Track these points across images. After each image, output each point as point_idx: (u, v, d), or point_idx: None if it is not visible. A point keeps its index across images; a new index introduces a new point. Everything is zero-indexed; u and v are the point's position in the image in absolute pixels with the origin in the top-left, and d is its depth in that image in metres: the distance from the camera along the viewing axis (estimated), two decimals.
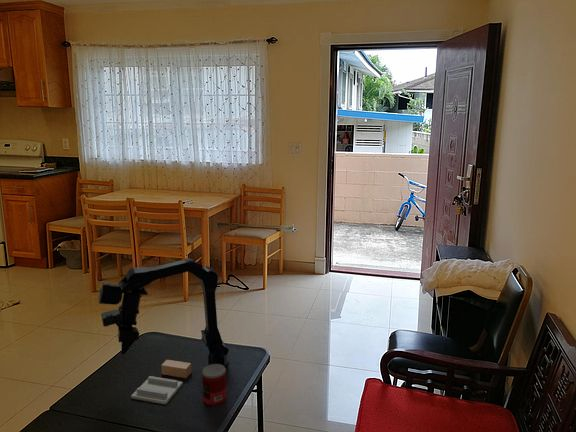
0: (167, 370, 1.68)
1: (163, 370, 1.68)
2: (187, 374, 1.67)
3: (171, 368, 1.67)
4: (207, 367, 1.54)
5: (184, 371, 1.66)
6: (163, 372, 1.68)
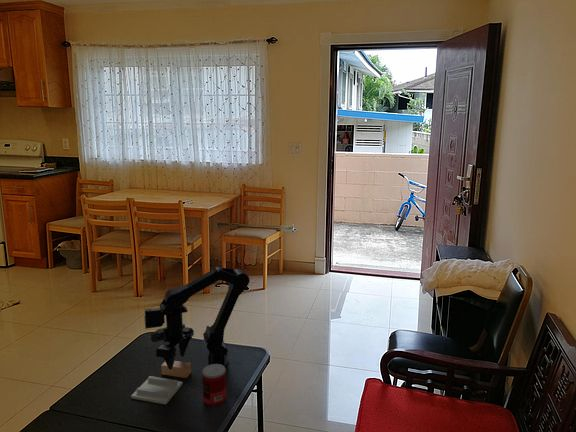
0: (167, 370, 1.68)
1: (163, 370, 1.68)
2: (187, 374, 1.67)
3: None
4: (207, 367, 1.54)
5: (185, 371, 1.66)
6: (163, 372, 1.68)
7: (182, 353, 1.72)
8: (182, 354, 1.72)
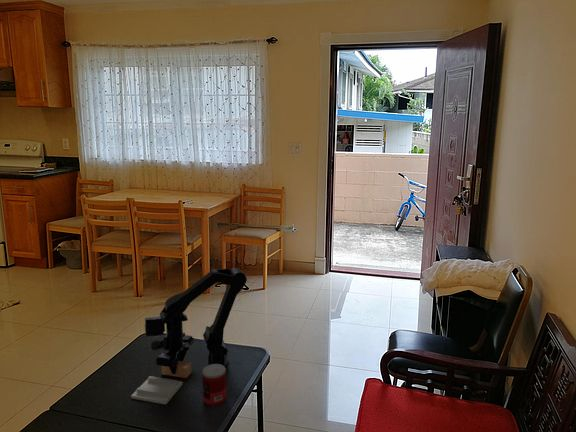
0: (167, 369, 1.68)
1: (163, 370, 1.68)
2: (187, 373, 1.67)
3: None
4: (207, 367, 1.54)
5: (185, 371, 1.66)
6: (163, 372, 1.68)
7: None
8: None
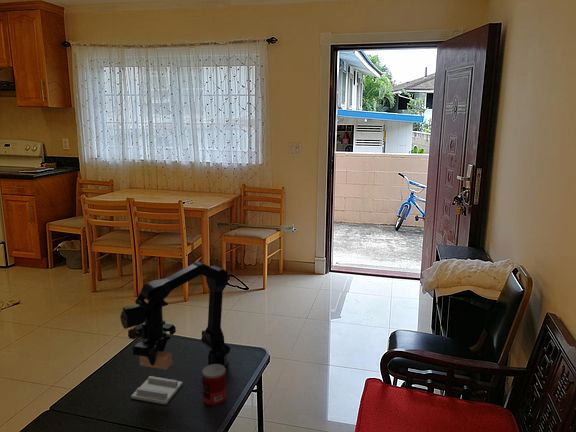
0: (145, 360, 1.55)
1: (141, 360, 1.55)
2: (167, 365, 1.54)
3: None
4: (207, 367, 1.54)
5: (164, 361, 1.53)
6: (141, 362, 1.55)
7: None
8: None
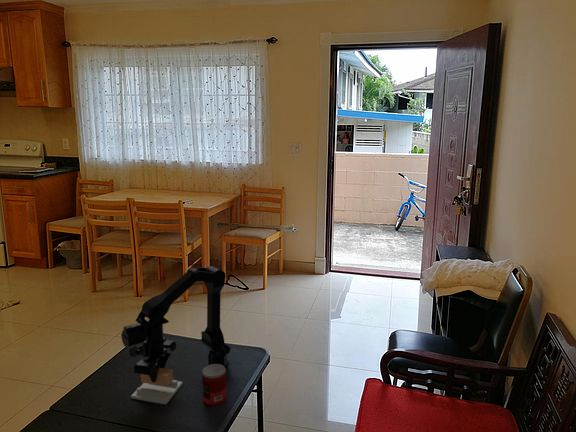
0: (147, 377, 1.56)
1: (142, 377, 1.56)
2: (168, 381, 1.55)
3: None
4: (207, 367, 1.54)
5: (165, 379, 1.54)
6: (142, 379, 1.56)
7: None
8: None
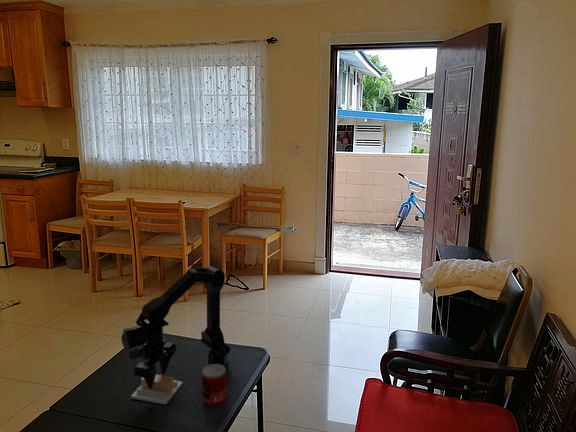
0: None
1: (143, 384, 1.57)
2: (168, 389, 1.56)
3: None
4: (207, 367, 1.54)
5: (165, 386, 1.55)
6: (143, 387, 1.57)
7: (163, 370, 1.61)
8: (163, 372, 1.61)
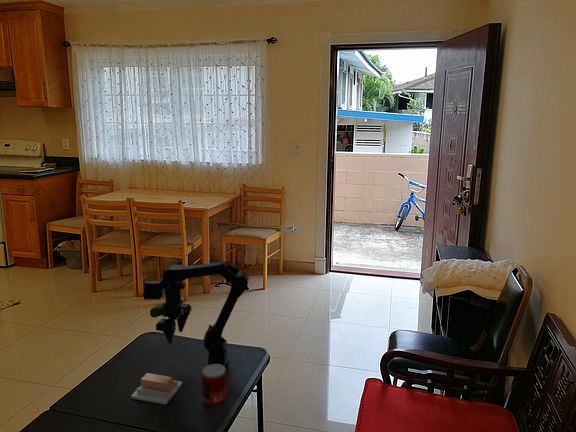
0: (147, 384, 1.56)
1: (143, 384, 1.57)
2: (168, 389, 1.56)
3: (151, 382, 1.56)
4: (207, 367, 1.54)
5: (165, 386, 1.55)
6: (143, 387, 1.57)
7: (180, 329, 1.76)
8: (180, 329, 1.76)
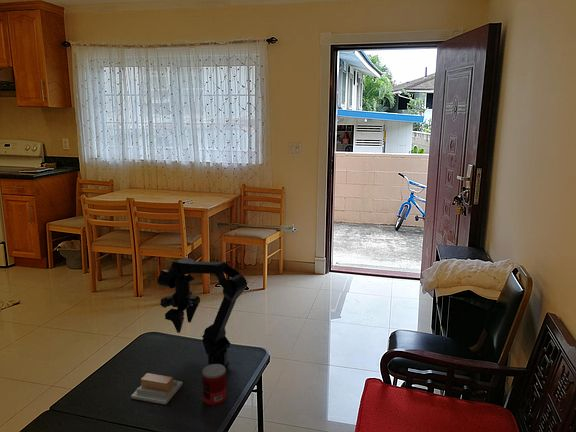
0: (147, 384, 1.56)
1: (143, 384, 1.57)
2: (168, 389, 1.56)
3: (151, 382, 1.56)
4: (207, 367, 1.54)
5: (165, 386, 1.55)
6: (143, 387, 1.57)
7: (189, 319, 1.84)
8: (189, 320, 1.84)
